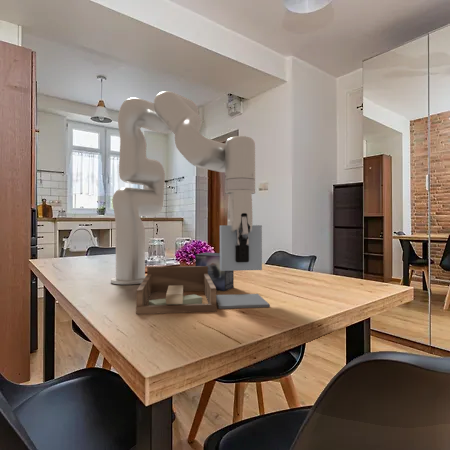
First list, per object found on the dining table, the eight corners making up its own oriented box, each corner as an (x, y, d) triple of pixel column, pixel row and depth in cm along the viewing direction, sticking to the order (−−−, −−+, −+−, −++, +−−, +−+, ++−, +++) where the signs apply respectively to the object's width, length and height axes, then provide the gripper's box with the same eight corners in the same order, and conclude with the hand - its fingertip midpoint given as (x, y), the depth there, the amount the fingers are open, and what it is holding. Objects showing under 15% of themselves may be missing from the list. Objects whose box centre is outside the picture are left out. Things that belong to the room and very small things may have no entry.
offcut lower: (148, 311, 75) (148, 300, 75) (194, 304, 81) (194, 294, 81) (154, 315, 72) (154, 303, 72) (202, 307, 78) (202, 297, 78)
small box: (193, 288, 99) (194, 253, 99) (205, 284, 105) (205, 252, 105) (224, 291, 94) (224, 255, 94) (234, 287, 100) (234, 253, 100)
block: (219, 268, 82) (219, 225, 82) (258, 268, 84) (258, 225, 84) (221, 270, 79) (221, 225, 79) (261, 270, 80) (261, 225, 80)
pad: (213, 297, 86) (213, 295, 86) (257, 296, 88) (257, 293, 88) (218, 308, 74) (218, 306, 74) (269, 307, 76) (269, 304, 76)
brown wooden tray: (147, 291, 94) (147, 266, 94) (207, 289, 97) (207, 266, 97) (136, 314, 70) (136, 281, 70) (216, 311, 72) (216, 279, 72)
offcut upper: (166, 304, 71) (166, 294, 71) (168, 294, 81) (168, 285, 81) (182, 303, 72) (182, 293, 72) (183, 294, 82) (183, 285, 82)
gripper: (221, 191, 89) (221, 258, 89) (230, 183, 72) (230, 265, 72) (248, 191, 90) (248, 257, 90) (263, 183, 73) (263, 264, 73)
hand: (240, 260), depth 81 cm, fingers closed on block, 3 cm apart
